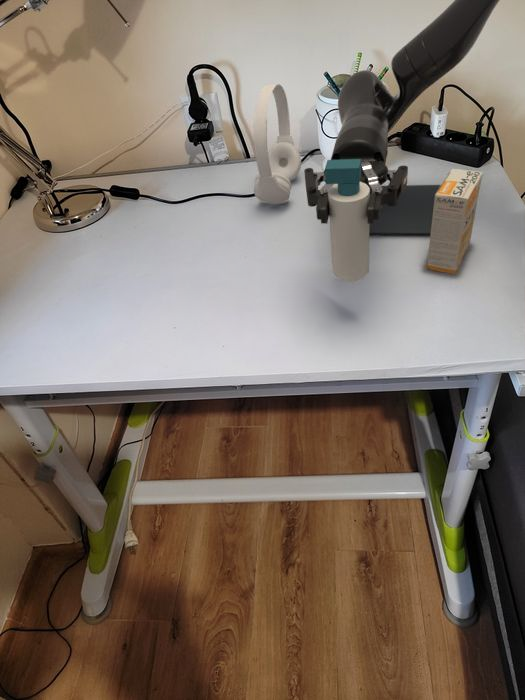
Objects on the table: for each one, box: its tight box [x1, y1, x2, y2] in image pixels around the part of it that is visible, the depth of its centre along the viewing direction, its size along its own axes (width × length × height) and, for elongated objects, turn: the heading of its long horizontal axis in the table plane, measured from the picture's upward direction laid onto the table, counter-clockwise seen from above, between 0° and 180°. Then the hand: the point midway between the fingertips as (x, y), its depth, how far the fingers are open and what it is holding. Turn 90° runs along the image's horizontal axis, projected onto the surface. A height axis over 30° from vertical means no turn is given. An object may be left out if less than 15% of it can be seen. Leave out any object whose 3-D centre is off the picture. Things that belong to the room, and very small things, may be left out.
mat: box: [369, 184, 442, 237], centre depth 92 cm, size 16×16×1 cm
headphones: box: [253, 83, 302, 205], centre depth 96 cm, size 7×18×20 cm, turn 166°
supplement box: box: [426, 168, 484, 275], centre depth 77 cm, size 8×5×13 cm, turn 150°
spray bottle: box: [324, 159, 370, 282], centre depth 65 cm, size 5×5×16 cm
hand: (347, 216), depth 61 cm, fingers closed on spray bottle, 5 cm apart
